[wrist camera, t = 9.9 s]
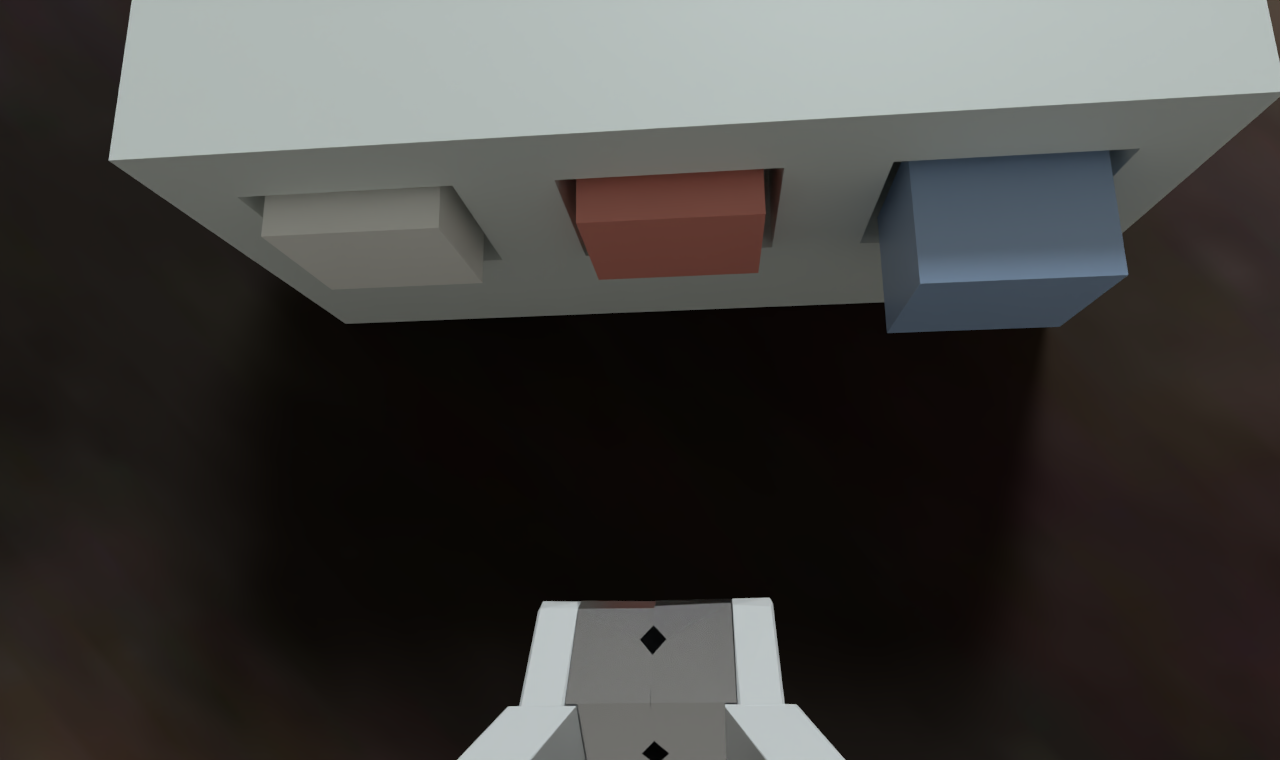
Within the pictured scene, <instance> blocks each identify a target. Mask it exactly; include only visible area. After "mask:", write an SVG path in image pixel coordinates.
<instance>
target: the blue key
mask: <svg viewBox="0 0 1280 760" xmlns="http://www.w3.org/2000/svg"><path fill="white" fill-rule="evenodd" d="M877 219H878V231H879V243H880V255H881V267H882V279H883V291H884V303H885V315H886V327H887V333H904V332H931V331H958V330H985V329H1012V328H1039V327H1060V326H1061V325H1062V324H1064V323H1065V322H1066V321H1068V320H1069V319H1070V318H1072V317H1073V316H1074V315H1076V314H1077V313H1078V312H1080V311H1081V310H1082V309H1084V308H1085V307H1086V306H1088V305H1089V304H1090V303H1092V302H1093V301H1094V300H1096V299H1097V298H1098V297H1100V296H1101V295H1102V294H1104V293H1105V292H1106V291H1108V290H1109V289H1110V288H1112V287H1113V286H1114V285H1116V284H1117V283H1118V282H1120V281H1121V280H1122V279H1124V278H1125V277H1126V276H1128V270H1127V264H1126V257H1125V251H1124V245H1123V238H1122V232H1121V225H1120V219H1119V212H1118V206H1117V199H1116V193H1115V186H1114V180H1113V173H1112V167H1111V160H1110V154H1109V150H1104V151H1086V152H1067V153H1049V154H1030V155H1012V156H993V157H974V158H956V159H937V160H919V161H902V162H901V164H900V166H899V169H898V171H897V173H896V176H895V178H894V180H893V183H892V185H891V187H890V190H889V192H888V194H887V196H886V199H885V201H884V203H883V206H882V208H881V210H880V213H879V215H878V217H877Z"/></svg>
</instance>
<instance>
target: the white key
mask: <svg viewBox="0 0 1280 760" xmlns="http://www.w3.org/2000/svg"><path fill="white" fill-rule="evenodd" d="M261 237H262V238H264V239H265V240H266V241H268V242H269V243H270V244H272V245H273V246H274V247H276V248H277V249H278V250H280V251H281V252H282V253H284V254H285V255H286V256H288V257H289V258H290V259H292V260H293V261H294V262H296V263H297V264H298V265H300V266H301V267H302V268H304V269H305V270H306V271H308V272H309V273H310V274H311V275H313V276H314V277H315V278H317V279H318V280H319V281H321V282H322V283H323V284H325V285H326V286H327V287H329V288H330V289H331V290H335V289H358V288H381V287H404V286H427V285H450V284H473V283H483V252H484V232H483V230H482V229H481V227H480V226H479V224H478V223H477V221H476V220H475V218H474V217H473V215H472V214H471V212H470V211H469V210H468V208H467V207H466V205H465V204H464V202H463V201H462V199H461V198H460V196H459V195H458V193H457V192H456V190H455V189H454V187H453V186H437V187H418V188H400V189H381V190H363V191H344V192H326V193H307V194H289V195H270V196H265V202H264V212H263V222H262V233H261Z"/></svg>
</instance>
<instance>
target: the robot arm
mask: <svg viewBox="0 0 1280 760" xmlns="http://www.w3.org/2000/svg"><path fill="white" fill-rule="evenodd" d="M457 760H845V759H844V758H843V757H842V756H841V754H840V753H839V752H838V751H837V750H836V749H835V748H834V746H833V745H832V744H831V743H830V742H829V741H828V740H827V738H826V737H825V736H824V735H823V734H822V733H821V732H820V730H819V729H818V728H817V727H816V726H815V725H814V724H813V722H812V721H811V720H810V719H809V718H808V717H807V716H806V714H805V713H804V712H803V711H802V710H801V709H800V708H799V706H798V705H797V704H785V702H784V694H783V685H782V677H781V668H780V660H779V651H778V642H777V634H776V625H775V617H774V608H773V603H772V601H771V599H770V598H734V599H732V601H731V599H730V598H728V599H692V600H657V601H543V603H542V605H541V606H540V608H539V610H538V614H537V619H536V624H535V629H534V634H533V639H532V644H531V649H530V654H529V659H528V664H527V669H526V674H525V679H524V684H523V689H522V694H521V699H520V704H519V706H508V707H507V708H506V709H505V710H504V711H503V712H502V713H501V714H500V715H499V716H498V717H497V718H496V719H495V720H494V722H493V723H492V724H491V725H490V726H489V727H488V728H487V729H486V730H485V731H484V732H483V733H482V734H481V735H480V736H479V737H478V738H477V739H476V740H475V741H474V743H473V744H472V745H471V746H470V747H469V748H468V749H467V750H466V751H465V752H464V753H463V754H462V755H461V756H460V757H459V758H458V759H457Z"/></svg>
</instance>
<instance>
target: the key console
mask: <svg viewBox="0 0 1280 760" xmlns="http://www.w3.org/2000/svg"><path fill="white" fill-rule="evenodd" d="M1279 97H1280V62H1279V57H1278V52H1277V48H1276V43H1275V38H1274V34H1273V29H1272V24H1271V19H1270V15H1269V10H1268V5H1267V0H132V4H131V11H130V18H129V25H128V32H127V38H126V45H125V52H124V59H123V66H122V73H121V80H120V86H119V93H118V100H117V107H116V114H115V121H114V128H113V134H112V141H111V148H110V155H109V161H110V162H112V163H113V164H115V165H116V166H117V167H119V168H120V169H122V170H123V171H125V172H126V173H128V174H129V175H130V176H132V177H133V178H135V179H136V180H138V181H139V182H141V183H142V184H144V185H145V186H146V187H148V188H149V189H151V190H152V191H154V192H155V193H157V194H158V195H159V196H161V197H162V198H164V199H165V200H167V201H168V202H170V203H171V204H173V205H174V206H175V207H177V208H178V209H180V210H181V211H183V212H184V213H186V214H187V215H189V216H190V217H191V218H193V219H194V220H196V221H197V222H199V223H200V224H202V225H203V226H204V227H206V228H207V229H209V230H210V231H212V232H213V233H215V234H216V235H218V236H219V237H220V238H222V239H223V240H225V241H226V242H228V243H229V244H231V245H232V246H233V247H235V248H236V249H238V250H239V251H241V252H242V253H244V254H245V255H247V256H248V257H249V258H251V259H252V260H254V261H255V262H257V263H258V264H260V265H261V266H262V267H264V268H265V269H267V270H268V271H270V272H271V273H273V274H274V275H276V276H277V277H278V278H280V279H281V280H283V281H284V282H286V283H287V284H289V285H290V286H292V287H293V288H294V289H296V290H297V291H299V292H300V293H302V294H303V295H305V296H306V297H307V298H309V299H310V300H312V301H313V302H315V303H316V304H318V305H319V306H321V307H322V308H323V309H325V310H326V311H328V312H329V313H331V314H332V315H334V316H335V317H336V318H338V319H339V320H341V321H342V322H344V323H345V324H353V323H378V322H403V321H428V320H453V319H478V318H503V317H528V316H553V315H578V314H603V313H628V312H653V311H678V310H703V309H728V308H753V307H778V306H803V305H828V304H853V303H877V302H884V291H883V279H882V267H881V255H880V243H879V231H878V219H877V217H878V215H879V213H880V210H881V208H882V206H883V203H884V201H885V199H886V196H887V194H888V192H889V190H890V187H891V185H892V183H893V180H894V178H895V176H896V173H897V171H898V169H899V166H900V164H901V162H902V161H919V160H937V159H956V158H974V157H993V156H1012V155H1030V154H1049V153H1067V152H1086V151H1104V150H1109V154H1110V160H1111V167H1112V173H1113V180H1114V186H1115V193H1116V199H1117V206H1118V212H1119V219H1120V225H1121V232H1122V233H1123V232H1124V231H1125V230H1126V229H1128V228H1129V227H1130V226H1131V225H1132V224H1133V223H1135V222H1136V221H1137V220H1138V219H1139V218H1140V217H1141V216H1143V215H1144V214H1145V213H1146V212H1147V211H1148V210H1150V209H1151V208H1152V207H1153V206H1154V205H1155V204H1156V203H1158V202H1159V201H1160V200H1161V199H1162V198H1163V197H1165V196H1166V195H1167V194H1168V193H1169V192H1170V191H1171V190H1173V189H1174V188H1175V187H1176V186H1177V185H1178V184H1180V183H1181V182H1182V181H1183V180H1184V179H1185V178H1186V177H1188V176H1189V175H1190V174H1191V173H1192V172H1193V171H1195V170H1196V169H1197V168H1198V167H1199V166H1200V165H1201V164H1203V163H1204V162H1205V161H1206V160H1207V159H1208V158H1210V157H1211V156H1212V155H1213V154H1214V153H1215V152H1216V151H1218V150H1219V149H1220V148H1221V147H1222V146H1223V145H1225V144H1226V143H1227V142H1228V141H1229V140H1230V139H1231V138H1233V137H1234V136H1235V135H1236V134H1237V133H1238V132H1240V131H1241V130H1242V129H1243V128H1244V127H1245V126H1246V125H1248V124H1249V123H1250V122H1251V121H1252V120H1253V119H1255V118H1256V117H1257V116H1258V115H1259V114H1260V113H1261V112H1263V111H1264V110H1265V109H1266V108H1267V107H1268V106H1270V105H1271V104H1272V103H1273V102H1274V101H1275V100H1276V99H1278V98H1279ZM752 169H764V189H765V209H766V216H765V224H764V232H763V240H762V248H761V256H760V264H759V272H758V273H747V274H724V275H701V276H678V277H655V278H632V279H609V280H599V279H598V277H597V274H596V272H595V269H594V267H593V264H592V262H591V259H590V257H589V254H588V252H587V249H586V247H585V244H584V242H583V239H582V237H581V234H580V232H579V229H578V227H577V224H576V179H585V178H604V177H622V176H641V175H659V174H678V173H696V172H715V171H733V170H752ZM437 186H453V187H454V189H455V190H456V192H457V193H458V195H459V196H460V198H461V199H462V201H463V202H464V204H465V205H466V207H467V208H468V210H469V211H470V212H471V214H472V215H473V217H474V218H475V220H476V221H477V223H478V224H479V226H480V227H481V229H482V230H483V232H484V252H483V283H473V284H450V285H427V286H404V287H381V288H358V289H335V290H331V289H330V288H329V287H327V286H326V285H325V284H323V283H322V282H321V281H319V280H318V279H317V278H315V277H314V276H313V275H311V274H310V273H309V272H308V271H306V270H305V269H304V268H302V267H301V266H300V265H298V264H297V263H296V262H294V261H293V260H292V259H290V258H289V257H288V256H286V255H285V254H284V253H282V252H281V251H280V250H278V249H277V248H276V247H274V246H273V245H272V244H270V243H269V242H268V241H266V240H265V239H264V238H262V237H261V233H262V222H263V212H264V202H265V196H270V195H289V194H307V193H326V192H344V191H363V190H381V189H400V188H418V187H437Z"/></svg>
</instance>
